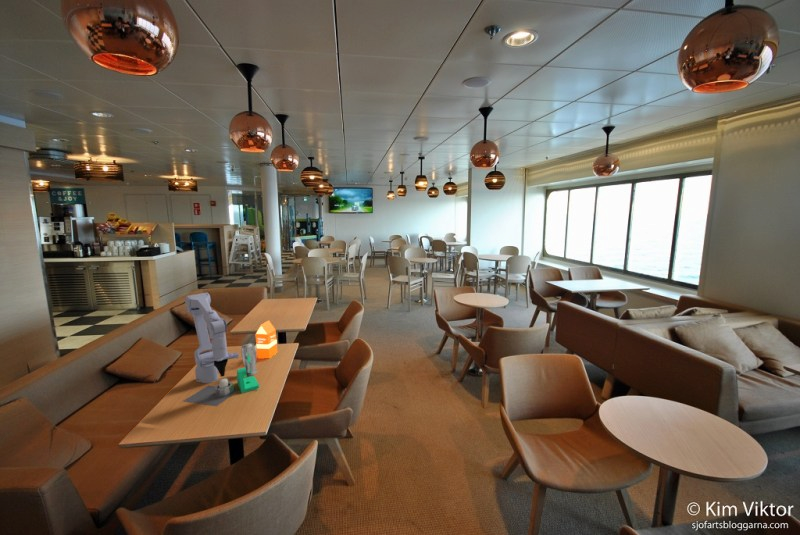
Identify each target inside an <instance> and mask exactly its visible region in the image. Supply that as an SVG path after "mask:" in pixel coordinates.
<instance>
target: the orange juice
mask: <svg viewBox="0 0 800 535" xmlns="http://www.w3.org/2000/svg"><path fill="white" fill-rule="evenodd" d="M254 334H255V342H256V343H255V346H256V353H257V359H264V358H270V359H271V358H273V357H274V356H275V355H277V354H278V353H277V352H278V340H277V332H276V328H275V326H274V325H273V324H272V323H271V321H270V320H267V321H265V322H264V323H261V324H260V326H259V328H258V329H257V331H256V333H254ZM276 353H277V354H276ZM273 355H274V356H273ZM272 356H273V357H272Z"/></svg>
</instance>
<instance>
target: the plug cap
mask: <svg viewBox="0 0 800 535" xmlns="http://www.w3.org/2000/svg"><path fill="white" fill-rule="evenodd" d="M228 382H229V378H221V379H218V384H219V388H220V389H222V388H226V387H228Z"/></svg>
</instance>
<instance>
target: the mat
mask: <svg viewBox="0 0 800 535" xmlns="http://www.w3.org/2000/svg"><path fill="white" fill-rule="evenodd" d="M215 386H216V385H210V384H209V385H207V386H205V387H204V388H202V389H201V390H199V391H197V392H195V393H193V394H192V395H190V396H189V397H187V398H186V399H184V400H183V402H187V403H192V404H198V405H204V406H206V405H207V406H211V407H212V406H213V407H218V406H219V405H221V404H222V403H223V402H225V401H226V400H228V399H229V398H230V397H232V396H234V395H235V394H236V393H238V392H239V391H241V390H240V388H239V389H237V388H234V391H233V393H232V394H230V395H228V396H225V397H217V396H216V395H215Z"/></svg>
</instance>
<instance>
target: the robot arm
mask: <svg viewBox="0 0 800 535" xmlns="http://www.w3.org/2000/svg"><path fill="white" fill-rule="evenodd" d="M211 302H212V298H211V295H210V294H209V293H208V292H207V291H206V292H203V293H202V292H201V293H198V294H190V295H186V296H185V298H184V305H185V308H186V309H185V310H186V311H187V313H188V314H191V315H192V318H193V322H194V327H195V331H196V336H197V339H198V344H199V346H198V348H196V350H194V353H193V354H194V361H195V366H196V367H195V369H194V374H195V380H196V382H197V383H203V384H210V383H214V382H216V381H217V380H219V376H220V377H225V375H226V374H225V373H226V367H227V364H228V360H232V359H239V358H240V354H239V352H228V346H227V345H228V344H227V336H226V334H227V333H226V332H227V331H228V324H227V322H226V320H225V319H224V318H221V317H220V315H219V314H218V313H217V311H216V310H214V309H212V307H211ZM210 339H211V340H210Z"/></svg>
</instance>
